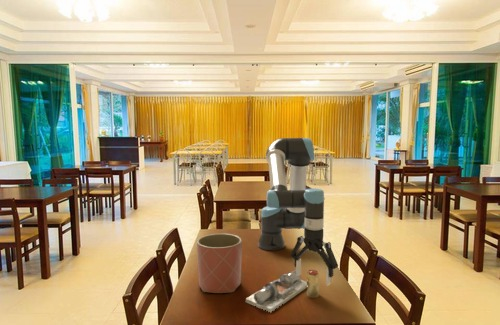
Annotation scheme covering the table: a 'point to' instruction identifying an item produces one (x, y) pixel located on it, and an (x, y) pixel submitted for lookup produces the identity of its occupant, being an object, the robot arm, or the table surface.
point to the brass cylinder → (312, 283)
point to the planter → (219, 262)
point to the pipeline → (277, 292)
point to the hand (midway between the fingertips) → (313, 279)
